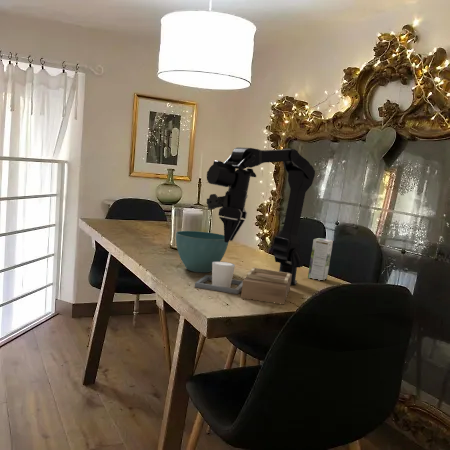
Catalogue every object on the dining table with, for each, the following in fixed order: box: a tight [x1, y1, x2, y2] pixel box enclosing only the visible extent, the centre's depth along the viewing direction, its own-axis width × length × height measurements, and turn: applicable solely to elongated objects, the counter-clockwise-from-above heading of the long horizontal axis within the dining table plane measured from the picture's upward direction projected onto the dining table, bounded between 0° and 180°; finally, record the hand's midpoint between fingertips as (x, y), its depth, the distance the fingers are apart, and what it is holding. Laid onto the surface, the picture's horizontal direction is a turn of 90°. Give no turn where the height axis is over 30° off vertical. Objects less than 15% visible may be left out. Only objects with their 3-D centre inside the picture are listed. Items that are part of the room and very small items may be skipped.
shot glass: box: [211, 261, 236, 288], centre depth 146 cm, size 7×7×7 cm
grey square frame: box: [194, 274, 243, 295], centre depth 147 cm, size 13×13×1 cm
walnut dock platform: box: [240, 267, 292, 305], centre depth 143 cm, size 20×12×6 cm, turn 167°
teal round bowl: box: [175, 230, 229, 274], centre depth 166 cm, size 18×18×12 cm
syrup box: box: [307, 237, 334, 281], centre depth 174 cm, size 6×6×14 cm
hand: (228, 241), depth 144 cm, fingers open, 9 cm apart
